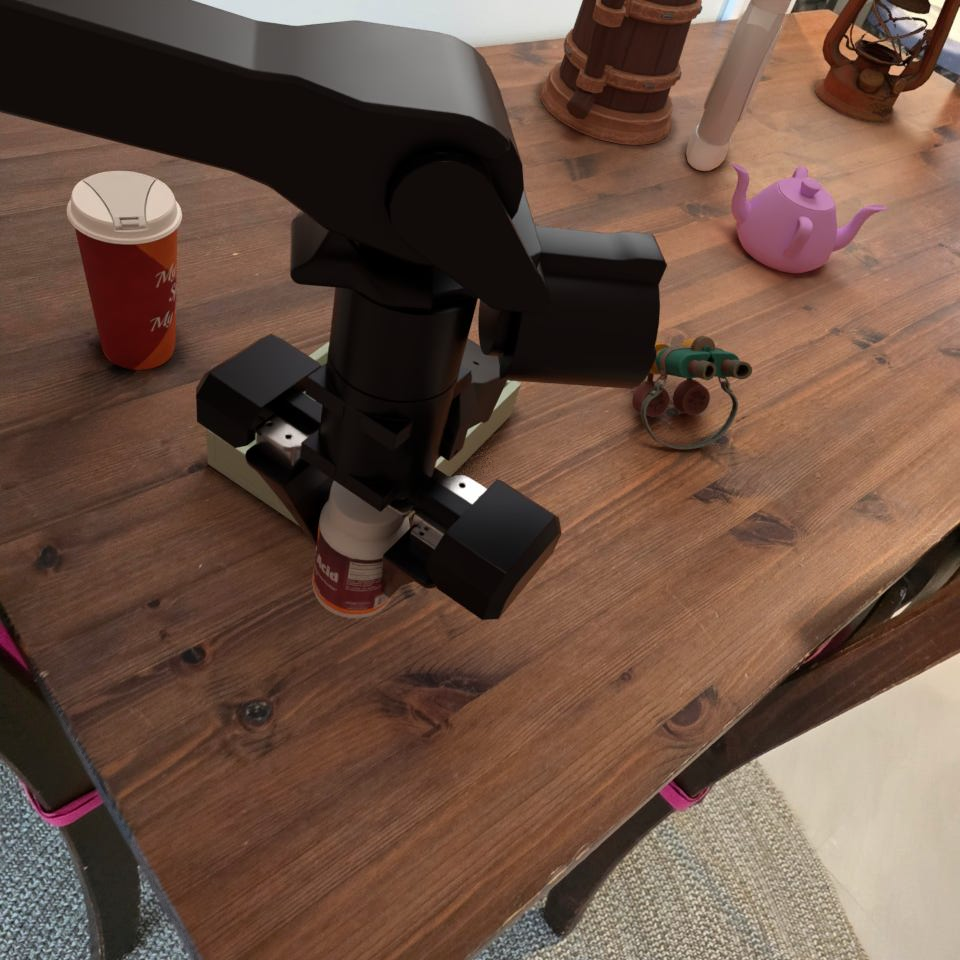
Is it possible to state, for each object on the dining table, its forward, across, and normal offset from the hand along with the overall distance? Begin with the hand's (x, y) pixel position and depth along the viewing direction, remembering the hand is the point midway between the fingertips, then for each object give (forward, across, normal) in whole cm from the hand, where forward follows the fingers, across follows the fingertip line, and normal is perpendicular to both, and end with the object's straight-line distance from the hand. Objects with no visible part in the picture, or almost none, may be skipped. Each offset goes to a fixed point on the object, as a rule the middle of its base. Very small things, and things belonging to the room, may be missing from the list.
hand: (356, 565), depth 50 cm
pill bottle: (+2, 0, 0) cm, 2 cm away
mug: (+11, +26, -86) cm, 91 cm away
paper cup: (+11, +31, -12) cm, 35 cm away
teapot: (+11, -4, -76) cm, 76 cm away
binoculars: (+11, -6, -39) cm, 41 cm away
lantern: (+11, +2, -129) cm, 130 cm away
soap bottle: (+11, +10, -89) cm, 91 cm away
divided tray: (+11, +11, -17) cm, 23 cm away
